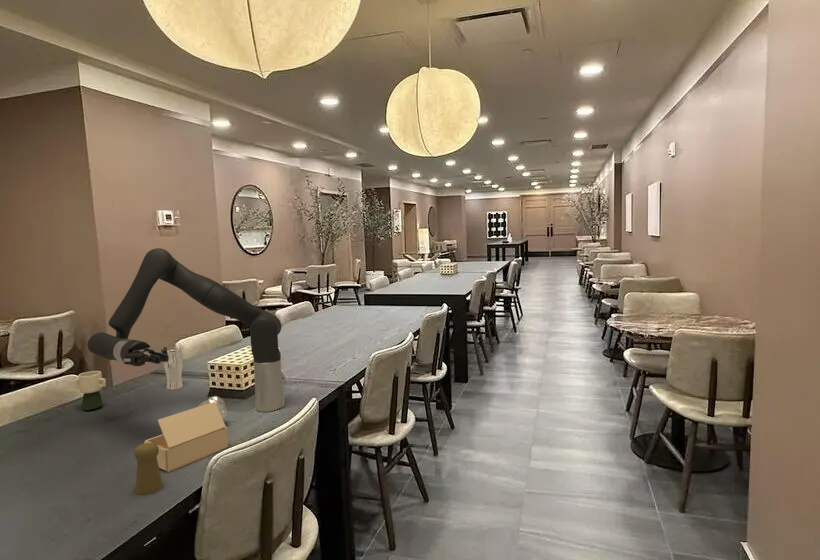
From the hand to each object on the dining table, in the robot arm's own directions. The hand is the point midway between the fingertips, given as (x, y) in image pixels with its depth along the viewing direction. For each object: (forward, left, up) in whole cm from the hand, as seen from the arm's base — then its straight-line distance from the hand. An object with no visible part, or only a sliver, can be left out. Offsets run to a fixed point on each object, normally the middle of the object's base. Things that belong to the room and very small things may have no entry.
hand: (163, 359), depth 145 cm
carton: (-3, +9, -26) cm, 28 cm away
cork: (+9, +24, -26) cm, 37 cm away
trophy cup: (+16, -53, -26) cm, 61 cm away
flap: (-5, +15, -20) cm, 25 cm away
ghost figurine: (-14, -8, -26) cm, 31 cm away
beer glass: (-13, -62, -26) cm, 69 cm away
